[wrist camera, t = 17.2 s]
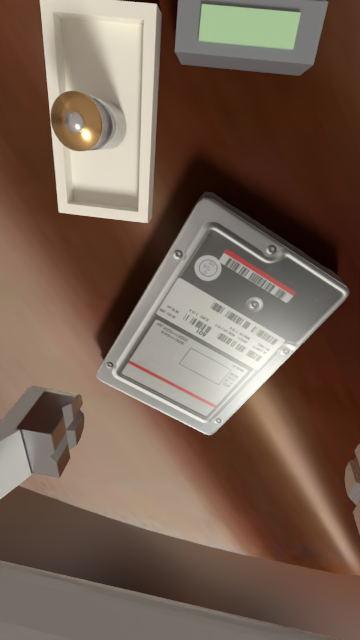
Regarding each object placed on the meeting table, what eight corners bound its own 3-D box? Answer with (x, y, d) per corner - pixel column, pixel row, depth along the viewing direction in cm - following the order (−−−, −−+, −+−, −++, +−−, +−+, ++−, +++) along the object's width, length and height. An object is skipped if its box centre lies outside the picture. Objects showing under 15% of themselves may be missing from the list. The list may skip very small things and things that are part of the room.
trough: (161, 14, 28) (156, 3, 26) (151, 218, 36) (147, 223, 34) (53, 4, 28) (39, -7, 26) (68, 207, 37) (58, 212, 34)
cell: (127, 103, 30) (99, 94, 24) (125, 151, 32) (99, 155, 26) (85, 97, 31) (46, 86, 24) (86, 145, 33) (50, 147, 26)
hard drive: (104, 358, 47) (93, 377, 43) (205, 186, 34) (203, 192, 31) (211, 414, 50) (210, 437, 46) (339, 275, 38) (353, 291, 34)
